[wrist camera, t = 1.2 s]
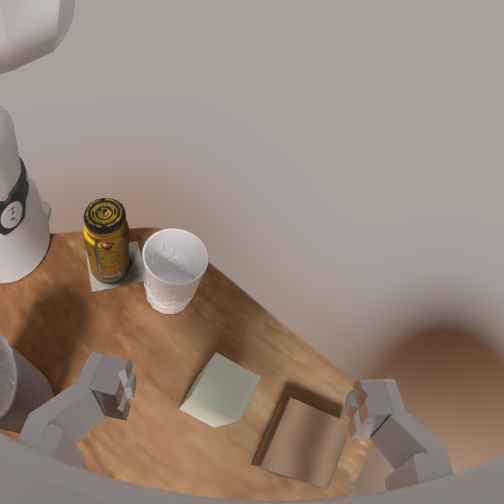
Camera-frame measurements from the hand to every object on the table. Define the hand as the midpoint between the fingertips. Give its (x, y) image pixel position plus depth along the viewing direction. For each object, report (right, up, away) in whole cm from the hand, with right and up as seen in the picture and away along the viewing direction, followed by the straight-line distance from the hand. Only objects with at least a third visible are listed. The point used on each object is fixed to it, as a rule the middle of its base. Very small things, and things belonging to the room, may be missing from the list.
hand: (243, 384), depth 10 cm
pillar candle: (-29, -14, +18) cm, 37 cm away
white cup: (-12, -1, +34) cm, 36 cm away
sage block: (-6, -15, +26) cm, 31 cm away
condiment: (-20, +3, +33) cm, 39 cm away
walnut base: (+6, -22, +26) cm, 35 cm away
